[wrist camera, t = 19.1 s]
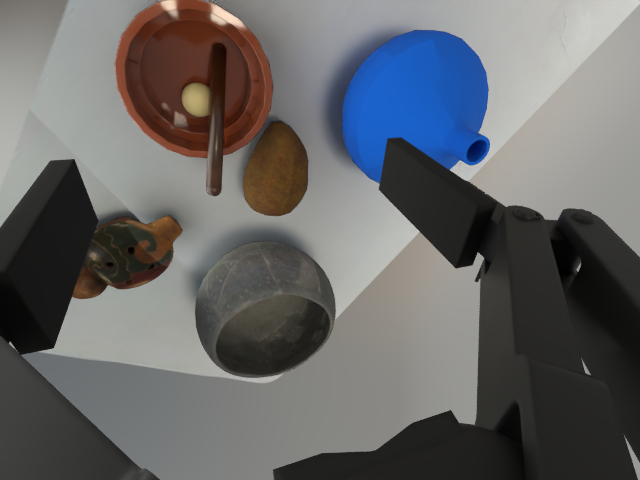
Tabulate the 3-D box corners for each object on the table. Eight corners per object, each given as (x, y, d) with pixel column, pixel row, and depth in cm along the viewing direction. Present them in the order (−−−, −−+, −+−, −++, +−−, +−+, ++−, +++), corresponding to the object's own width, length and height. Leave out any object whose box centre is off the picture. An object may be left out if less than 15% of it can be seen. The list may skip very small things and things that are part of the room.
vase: (402, 176, 56) (480, 242, 42) (304, 142, 48) (358, 211, 33) (467, 60, 48) (591, 92, 34) (363, -5, 40) (470, -1, 25)
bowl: (252, 328, 66) (267, 400, 55) (163, 277, 53) (158, 357, 42) (334, 265, 63) (369, 326, 52) (261, 194, 50) (285, 255, 39)
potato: (320, 138, 48) (342, 163, 42) (279, 207, 52) (293, 239, 46) (267, 109, 44) (283, 131, 37) (227, 186, 48) (235, 219, 41)
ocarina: (53, 246, 45) (33, 282, 39) (148, 181, 45) (144, 206, 39) (113, 288, 51) (104, 326, 44) (197, 230, 51) (201, 260, 45)
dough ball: (206, 97, 41) (185, 116, 40) (192, 71, 38) (168, 91, 37) (226, 108, 40) (205, 128, 39) (213, 81, 37) (190, 102, 36)
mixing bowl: (95, 76, 36) (81, 90, 31) (180, -42, 33) (180, -47, 28) (210, 160, 45) (213, 182, 40) (285, 74, 42) (300, 86, 37)
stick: (223, 38, 36) (217, 195, 36) (229, 46, 38) (223, 197, 38) (209, 39, 37) (203, 195, 37) (216, 47, 38) (210, 196, 38)
